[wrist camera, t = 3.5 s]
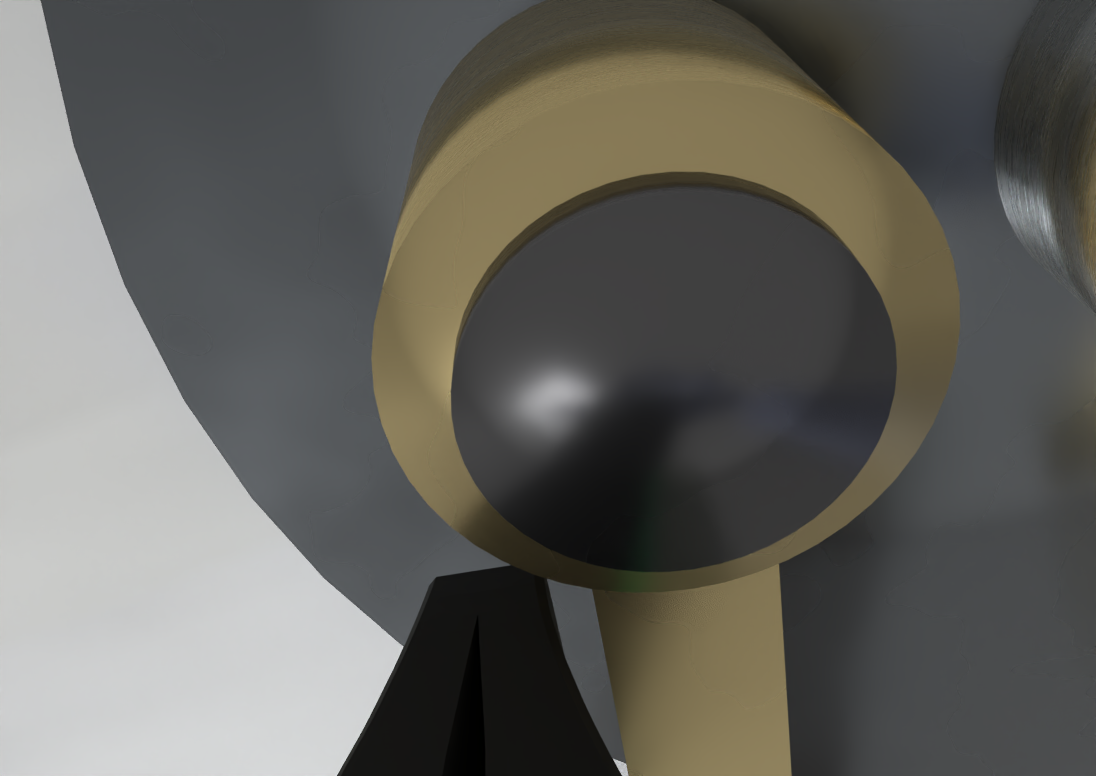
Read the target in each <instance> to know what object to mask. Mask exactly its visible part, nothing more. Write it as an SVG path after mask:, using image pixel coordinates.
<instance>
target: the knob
mask: <svg viewBox="0 0 1096 776" xmlns="http://www.w3.org/2000/svg"><path fill="white" fill-rule="evenodd" d="M959 332H960V298H959V289H958V283H957V277H956V272H955V266H954V260H953V257H952V254H951V252H950V249H949V246H948V243H947V240H946V237H945V234H944V231H943V229H942V226H941V224H940V223H939V221H938V219H937V217H936V215H935V213H934V212H933V210H932V208H931V206H930V204H929V202H928V200H927V199H926V197H925V195H924V194H923V193H922V191H921V190H920V189H919V188H918V186H917V185H916V184H915V182H914V181H913V180H912V179H911V177H910V176H909V175H908V173H907V172H906V171H905V169H904V168H903V167H902V166H901V165H900V164H899V163H898V162H897V161H896V160H895V159H894V158H893V157H892V156H891V155H890V154H889V153H888V152H887V151H886V150H885V149H884V148H883V147H882V146H880V145H879V144H878V143H877V142H876V141H875V140H874V139H873V138H872V137H871V136H870V135H869V134H868V133H867V132H866V131H865V130H864V129H863V128H862V127H861V126H860V125H859V124H858V123H857V122H856V121H855V120H854V119H853V118H852V117H851V116H850V115H848V114H847V113H846V112H845V111H844V110H843V109H842V108H841V107H840V106H839V105H838V104H837V103H836V102H835V101H834V100H833V99H832V98H831V97H830V96H829V95H828V94H827V93H826V92H825V91H824V90H823V89H822V88H821V87H820V86H819V85H818V84H817V83H815V82H814V81H813V80H812V79H811V78H810V77H809V76H808V75H807V74H806V73H805V72H804V71H803V70H802V69H801V68H800V67H799V66H798V65H797V64H796V63H795V62H794V61H793V60H792V59H791V58H790V57H789V56H788V55H787V54H786V53H785V52H784V51H782V50H781V49H780V48H779V47H778V46H777V45H776V44H775V43H774V42H773V41H772V40H771V39H770V38H769V37H768V36H767V35H765V34H764V33H763V32H762V31H761V30H760V29H759V28H758V27H756V26H755V25H754V24H752V23H751V22H749V21H748V20H746V19H745V18H743V17H742V16H740V15H739V14H738V13H736V12H735V11H733V10H731V9H729V8H727V7H725V6H723V5H720V4H718V3H716V2H714V1H712V0H546V1H543V2H541V3H539V4H536V5H534V6H531V7H529V8H528V9H526V10H524V11H522V12H521V13H519V14H517V15H516V16H514V17H512V18H510V19H509V20H507V21H505V22H504V23H502V24H501V25H500V26H499V27H497V28H496V29H495V30H493V31H492V32H491V33H490V34H488V35H487V36H486V37H484V38H483V39H482V40H481V41H480V42H479V43H478V44H477V45H476V46H475V47H474V48H473V49H472V50H471V51H470V52H469V53H468V54H467V55H466V56H465V57H464V58H463V59H462V60H461V61H460V62H459V63H458V65H457V66H456V67H455V69H454V70H453V71H452V73H451V74H450V75H449V77H448V78H447V79H446V81H445V82H444V83H443V85H442V86H441V88H440V90H439V92H438V94H437V96H436V97H435V99H434V101H433V103H432V105H431V106H430V108H429V110H428V112H427V115H426V118H425V120H424V123H423V126H422V128H421V131H420V133H419V136H418V140H417V144H416V148H415V152H414V157H413V161H412V165H411V169H410V174H409V178H408V182H407V186H406V190H405V195H404V199H403V203H402V207H401V212H400V216H399V220H398V224H397V228H396V233H395V237H394V241H393V245H392V250H391V254H390V258H389V262H388V266H387V271H386V275H385V279H384V283H383V288H382V292H381V296H380V300H379V305H378V309H377V313H376V318H375V322H374V331H373V344H372V356H371V360H372V373H373V386H374V394H375V398H376V403H377V407H378V411H379V416H380V420H381V424H382V426H383V429H384V431H385V434H386V436H387V439H388V442H389V444H390V447H391V449H392V452H393V454H394V455H395V457H396V459H397V461H398V462H399V464H400V466H401V468H402V469H403V471H404V473H405V475H406V476H407V478H408V480H409V481H410V482H411V484H412V485H413V486H414V487H415V489H416V490H417V491H418V493H419V494H420V495H421V496H422V498H423V499H424V500H425V502H426V503H427V504H428V505H429V506H430V507H431V508H432V509H433V510H434V511H435V512H436V513H437V514H438V515H439V516H440V517H441V518H442V519H443V520H444V521H445V522H446V523H447V524H448V525H449V526H450V527H452V528H453V529H454V530H456V531H457V532H458V533H460V534H461V535H462V536H464V537H465V538H466V539H468V540H469V541H470V542H471V543H473V544H474V545H476V546H477V547H479V548H481V549H482V550H484V551H486V552H488V553H489V554H491V555H493V556H494V557H496V558H498V559H500V560H501V561H503V562H506V563H508V564H510V565H513V566H515V567H517V568H519V569H522V570H524V571H526V572H529V573H531V574H534V575H537V576H540V577H544V578H547V579H550V580H553V581H557V582H560V583H563V584H568V585H574V586H579V587H584V588H589V589H592V592H593V597H594V602H595V607H596V612H597V617H598V622H599V627H600V632H601V637H602V642H603V647H604V653H605V658H606V663H607V668H608V673H609V678H610V683H611V688H612V693H613V698H614V703H615V708H616V714H617V719H618V724H619V729H620V734H621V739H622V744H623V749H624V754H625V759H626V764H627V769H628V774H629V776H792V774H791V757H790V741H789V724H788V707H787V690H786V674H785V657H784V640H783V623H782V607H781V590H780V573H779V563H782V562H784V561H786V560H789V559H791V558H792V557H794V556H796V555H798V554H800V553H802V552H804V551H806V550H808V549H809V548H811V547H813V546H815V545H817V544H819V543H820V542H822V541H823V540H825V539H826V538H828V537H829V536H831V535H832V534H834V533H835V532H837V531H838V530H840V529H841V528H843V527H844V526H846V525H847V524H848V523H849V522H850V521H852V520H853V519H854V518H855V517H857V516H858V515H859V514H860V513H861V512H863V511H864V510H865V509H866V508H867V507H869V506H870V505H871V504H872V503H873V502H874V501H875V500H876V499H877V498H878V497H879V496H880V495H881V494H882V493H883V492H884V491H885V490H886V489H887V488H888V487H889V486H890V485H891V484H892V483H893V482H894V480H895V479H896V478H897V477H898V476H899V474H900V473H901V472H902V470H903V469H904V468H905V466H906V465H907V464H908V463H909V461H910V460H911V459H912V457H913V456H914V455H915V453H916V452H917V450H918V449H919V447H920V445H921V444H922V442H923V440H924V439H925V437H926V435H927V433H928V432H929V430H930V428H931V427H932V425H933V423H934V421H935V419H936V416H937V414H938V412H939V409H940V407H941V405H942V402H943V400H944V398H945V396H946V393H947V390H948V386H949V383H950V379H951V376H952V372H953V368H954V365H955V361H956V354H957V347H958V339H959Z"/></svg>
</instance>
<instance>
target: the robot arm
mask: <svg viewBox="0 0 1096 776" xmlns="http://www.w3.org/2000/svg"><path fill="white" fill-rule="evenodd" d="M337 776H622V775H621V773H620V772H619V770H618V768H617V766H616V764H615V762H614V761H613V759H612V757H611V755H610V753H609V751H608V749H607V747H606V745H605V743H604V741H603V739H602V738H601V736H600V734H599V732H598V730H597V728H596V726H595V724H594V722H593V720H592V718H591V716H590V713H589V711H588V709H587V707H586V705H585V703H584V701H583V698H582V696H581V694H580V691H579V689H578V687H577V684H576V682H575V680H574V677H573V675H572V673H571V670H570V668H569V665H568V663H567V661H566V658H565V655H564V650H563V646H562V642H561V637H560V633H559V629H558V624H557V620H556V616H555V611H554V607H553V603H552V598H551V594H550V590H549V585H548V581H547V578H544V577H540V576H537V575H534V574H531V573H529V572H526V571H524V570H522V569H519V568H517V567H515V566H513V565H509V566H503V567H496V568H490V569H483V570H477V571H470V572H464V573H458V574H451V575H445V576H438V577H436V578H435V579H434V580H433V581H432V582H431V584H430V585H429V587H428V590H427V592H426V595H425V598H424V600H423V603H422V605H421V608H420V610H419V613H418V615H417V618H416V620H415V622H414V625H413V627H412V629H411V632H410V634H409V636H408V639H407V641H406V643H405V645H404V647H403V650H402V652H401V654H400V656H399V658H398V661H397V663H396V665H395V667H394V669H393V671H392V673H391V675H390V677H389V679H388V681H387V683H386V685H385V687H384V689H383V691H382V693H381V695H380V697H379V699H378V701H377V703H376V706H375V708H374V710H373V712H372V714H371V716H370V718H369V719H368V721H367V723H366V725H365V727H364V729H363V731H362V733H361V734H360V736H359V738H358V740H357V741H356V743H355V745H354V747H353V748H352V750H351V752H350V754H349V755H348V757H347V759H346V761H345V763H344V764H343V766H342V768H341V770H340V771H339V773H338V775H337Z"/></svg>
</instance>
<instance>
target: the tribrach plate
mask: <svg viewBox="0 0 1096 776" xmlns="http://www.w3.org/2000/svg"><path fill="white" fill-rule="evenodd" d="M543 1H546V0H41V3H42V8H43V12H44V17H45V21H46V25H47V30H48V34H49V38H50V43H51V47H52V52H53V56H54V60H55V65H56V69H57V74H58V78H59V82H60V87H61V91H62V96H63V100H64V104H65V109H66V113H67V117H68V122H69V126H70V131H71V135H72V139H73V144H74V148H75V150H76V153H77V156H78V159H79V161H80V164H81V167H82V170H83V172H84V175H85V178H86V180H87V183H88V186H89V189H90V191H91V194H92V197H93V200H94V202H95V205H96V208H97V211H98V213H99V216H100V219H101V222H102V224H103V227H104V230H105V233H106V235H107V238H108V241H109V244H110V246H111V249H112V252H113V255H114V257H115V260H116V263H117V266H118V268H119V271H120V274H121V277H122V279H123V282H124V285H125V287H126V289H127V291H128V293H129V294H130V296H131V298H132V300H133V302H134V304H135V306H136V308H137V310H138V312H139V314H140V316H141V318H142V320H143V322H144V323H145V325H146V327H147V329H148V331H149V333H150V335H151V337H152V339H153V341H154V343H155V345H156V347H157V349H158V351H159V352H160V354H161V356H162V358H163V360H164V362H165V364H166V366H167V368H168V370H169V372H170V374H171V376H172V378H173V380H174V382H175V383H176V385H177V387H178V389H179V391H180V393H181V395H182V397H183V399H184V401H185V402H186V404H187V405H188V407H189V408H190V410H191V411H192V412H193V414H194V415H195V417H196V418H197V420H198V421H199V423H200V424H201V425H202V427H203V428H204V430H205V431H206V433H207V434H208V436H209V437H210V438H211V440H212V441H213V443H214V444H215V446H216V447H217V449H218V450H219V451H220V453H221V454H222V456H223V457H224V459H225V460H226V462H227V463H228V464H229V466H230V467H231V469H232V470H233V472H234V473H235V475H236V476H237V477H238V479H239V480H240V482H241V483H242V485H243V486H244V488H245V489H246V490H247V492H248V493H249V495H250V496H251V498H252V499H253V500H254V501H255V502H256V503H257V504H258V505H259V507H260V508H261V509H262V510H263V511H264V512H265V513H266V514H267V515H268V517H269V518H270V519H271V520H272V521H273V522H274V523H275V524H276V525H277V527H278V528H279V529H280V530H281V531H282V532H283V533H284V534H285V535H286V537H287V538H288V539H289V540H290V541H291V542H292V543H293V544H294V545H295V547H296V548H297V549H298V550H299V551H300V552H301V553H302V554H303V555H304V556H305V558H306V559H307V560H308V561H309V562H310V563H311V564H312V565H313V566H314V568H315V569H316V570H317V571H318V572H319V573H320V574H321V575H322V576H323V578H324V579H326V580H327V581H328V582H329V583H330V584H331V585H333V586H334V587H335V588H336V589H337V590H338V591H340V592H341V593H342V594H343V595H344V596H345V597H346V598H348V599H349V600H350V601H351V602H352V603H353V604H355V605H356V606H357V607H358V608H359V609H360V610H362V611H363V612H364V613H365V614H366V615H367V616H369V617H370V618H371V619H372V620H373V621H374V622H375V623H377V624H378V625H379V626H380V627H381V628H382V629H384V630H385V631H386V632H387V633H388V634H389V635H391V636H392V637H393V638H394V639H395V640H396V641H398V642H399V643H400V644H401V645H403V646H404V645H405V643H406V641H407V639H408V636H409V634H410V632H411V629H412V627H413V625H414V622H415V620H416V618H417V615H418V613H419V610H420V608H421V605H422V603H423V600H424V598H425V595H426V592H427V590H428V587H429V585H430V584H431V582H432V581H433V580H434V579H435V578H436V577H438V576H445V575H451V574H458V573H464V572H470V571H477V570H483V569H490V568H496V567H503V566H509V565H510V564H508V563H506V562H503V561H501V560H500V559H498V558H496V557H494V556H493V555H491V554H489V553H488V552H486V551H484V550H482V549H481V548H479V547H477V546H476V545H474V544H473V543H471V542H470V541H469V540H468V539H466V538H465V537H464V536H462V535H461V534H460V533H458V532H457V531H456V530H454V529H453V528H452V527H450V526H449V525H448V524H447V523H446V522H445V521H444V520H443V519H442V518H441V517H440V516H439V515H438V514H437V513H436V512H435V511H434V510H433V509H432V508H431V507H430V506H429V505H428V504H427V503H426V502H425V500H424V499H423V498H422V496H421V495H420V494H419V493H418V491H417V490H416V489H415V487H414V486H413V485H412V484H411V482H410V481H409V480H408V478H407V476H406V475H405V473H404V471H403V469H402V468H401V466H400V464H399V462H398V461H397V459H396V457H395V455H394V454H393V452H392V449H391V447H390V444H389V442H388V439H387V436H386V434H385V431H384V429H383V426H382V424H381V420H380V416H379V411H378V407H377V403H376V398H375V394H374V386H373V373H372V360H371V356H372V344H373V331H374V322H375V318H376V313H377V309H378V305H379V300H380V296H381V292H382V288H383V283H384V279H385V275H386V271H387V266H388V262H389V258H390V254H391V250H392V245H393V241H394V237H395V233H396V228H397V224H398V220H399V216H400V212H401V207H402V203H403V199H404V195H405V190H406V186H407V182H408V178H409V174H410V169H411V165H412V161H413V157H414V152H415V148H416V144H417V140H418V136H419V133H420V131H421V128H422V126H423V123H424V120H425V118H426V115H427V112H428V110H429V108H430V106H431V105H432V103H433V101H434V99H435V97H436V96H437V94H438V92H439V90H440V88H441V86H442V85H443V83H444V82H445V81H446V79H447V78H448V77H449V75H450V74H451V73H452V71H453V70H454V69H455V67H456V66H457V65H458V63H459V62H460V61H461V60H462V59H463V58H464V57H465V56H466V55H467V54H468V53H469V52H470V51H471V50H472V49H473V48H474V47H475V46H476V45H477V44H478V43H479V42H480V41H481V40H482V39H483V38H484V37H486V36H487V35H488V34H490V33H491V32H492V31H493V30H495V29H496V28H497V27H499V26H500V25H501V24H502V23H504V22H505V21H507V20H509V19H510V18H512V17H514V16H516V15H517V14H519V13H521V12H522V11H524V10H526V9H528V8H529V7H531V6H534V5H536V4H539V3H541V2H543ZM712 1H714V2H716V3H718V4H720V5H723V6H725V7H727V8H729V9H731V10H733V11H735V12H736V13H738V14H739V15H740V16H742V17H743V18H745V19H746V20H748V21H749V22H751V23H752V24H754V25H755V26H756V27H758V28H759V29H760V30H761V31H762V32H763V33H764V34H765V35H767V36H768V37H769V38H770V39H771V40H772V41H773V42H774V43H775V44H776V45H777V46H778V47H779V48H780V49H781V50H782V51H784V52H785V53H786V54H787V55H788V56H789V57H790V58H791V59H792V60H793V61H794V62H795V63H796V64H797V65H798V66H799V67H800V68H801V69H802V70H803V71H804V72H805V73H806V74H807V75H808V76H809V77H810V78H811V79H812V80H813V81H814V82H815V83H817V84H818V85H819V86H820V87H821V88H822V89H823V90H824V91H825V92H826V93H827V94H828V95H829V96H830V97H831V98H832V99H833V100H834V101H835V102H836V103H837V104H838V105H839V106H840V107H841V108H842V109H843V110H844V111H845V112H846V113H847V114H848V115H850V116H851V117H852V118H853V119H854V120H855V121H856V122H857V123H858V124H859V125H860V126H861V127H862V128H863V129H864V130H865V131H866V132H867V133H868V134H869V135H870V136H871V137H872V138H873V139H874V140H875V141H876V142H877V143H878V144H879V145H880V146H882V147H883V148H884V149H885V150H886V151H887V152H888V153H889V154H890V155H891V156H892V157H893V158H894V159H895V160H896V161H897V162H898V163H899V164H900V165H901V166H902V167H903V168H904V169H905V171H906V172H907V173H908V175H909V176H910V177H911V179H912V180H913V181H914V182H915V184H916V185H917V186H918V188H919V189H920V190H921V191H922V193H923V194H924V195H925V197H926V199H927V200H928V202H929V204H930V206H931V208H932V210H933V212H934V213H935V215H936V217H937V219H938V221H939V223H940V224H941V226H942V229H943V231H944V234H945V237H946V240H947V243H948V246H949V249H950V252H951V254H952V257H953V260H954V266H955V272H956V277H957V283H958V289H959V298H960V332H959V339H958V347H957V354H956V361H955V365H954V368H953V372H952V376H951V379H950V383H949V386H948V390H947V393H946V396H945V398H944V400H943V402H942V405H941V407H940V409H939V412H938V414H937V416H936V419H935V421H934V423H933V425H932V427H931V428H930V430H929V432H928V433H927V435H926V437H925V439H924V440H923V442H922V444H921V445H920V447H919V449H918V450H917V452H916V453H915V455H914V456H913V457H912V459H911V460H910V461H909V463H908V464H907V465H906V466H905V468H904V469H903V470H902V472H901V473H900V474H899V476H898V477H897V478H896V479H895V480H894V482H893V483H892V484H891V485H890V486H889V487H888V488H887V489H886V490H885V491H884V492H883V493H882V494H881V495H880V496H879V497H878V498H877V499H876V500H875V501H874V502H873V503H872V504H871V505H870V506H869V507H867V508H866V509H865V510H864V511H863V512H861V513H860V514H859V515H858V516H857V517H855V518H854V519H853V520H852V521H850V522H849V523H848V524H847V525H846V526H844V527H843V528H841V529H840V530H838V531H837V532H835V533H834V534H832V535H831V536H829V537H828V538H826V539H825V540H823V541H822V542H820V543H819V544H817V545H815V546H813V547H811V548H809V549H808V550H806V551H804V552H802V553H800V554H798V555H796V556H794V557H792V558H791V559H789V560H786V561H784V562H782V563H779V573H780V590H781V607H782V623H783V640H784V657H785V674H786V690H787V707H788V724H789V741H790V757H791V774H792V776H1096V0H712ZM547 581H548V585H549V590H550V594H551V598H552V603H553V607H554V611H555V616H556V620H557V624H558V629H559V633H560V637H561V642H562V646H563V650H564V655H565V658H566V661H567V663H568V665H569V668H570V670H571V673H572V675H573V677H574V680H575V682H576V684H577V687H578V689H579V691H580V694H581V696H582V698H583V701H584V703H585V705H586V707H587V709H588V711H589V713H590V716H591V718H592V720H593V722H594V724H595V726H596V728H597V730H598V732H599V734H600V736H601V738H602V739H603V741H604V743H605V745H606V747H607V749H608V751H609V753H610V755H611V757H612V758H613V759H616V760H619V761H621V762H624V763H626V759H625V754H624V749H623V744H622V739H621V734H620V729H619V724H618V719H617V714H616V708H615V703H614V698H613V693H612V688H611V683H610V678H609V673H608V668H607V663H606V658H605V653H604V647H603V642H602V637H601V632H600V627H599V622H598V617H597V612H596V607H595V602H594V597H593V592H592V589H589V588H584V587H579V586H574V585H568V584H563V583H560V582H557V581H553V580H550V579H547Z"/></svg>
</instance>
